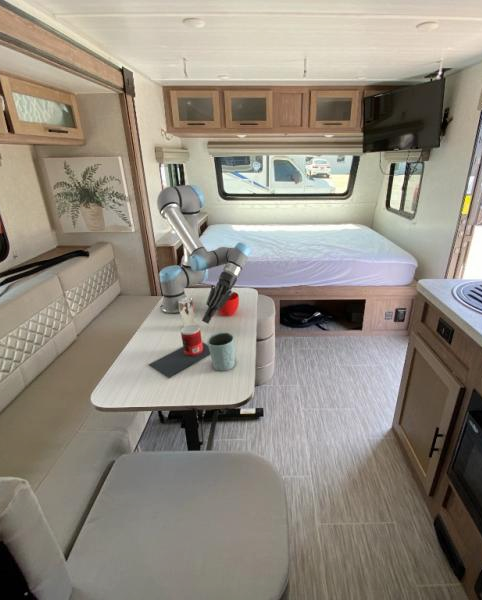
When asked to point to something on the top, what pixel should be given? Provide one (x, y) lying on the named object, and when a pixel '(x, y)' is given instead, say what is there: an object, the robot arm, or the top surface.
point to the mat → (178, 361)
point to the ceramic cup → (230, 305)
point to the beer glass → (187, 311)
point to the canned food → (191, 340)
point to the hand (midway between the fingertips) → (205, 322)
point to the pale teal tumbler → (222, 351)
